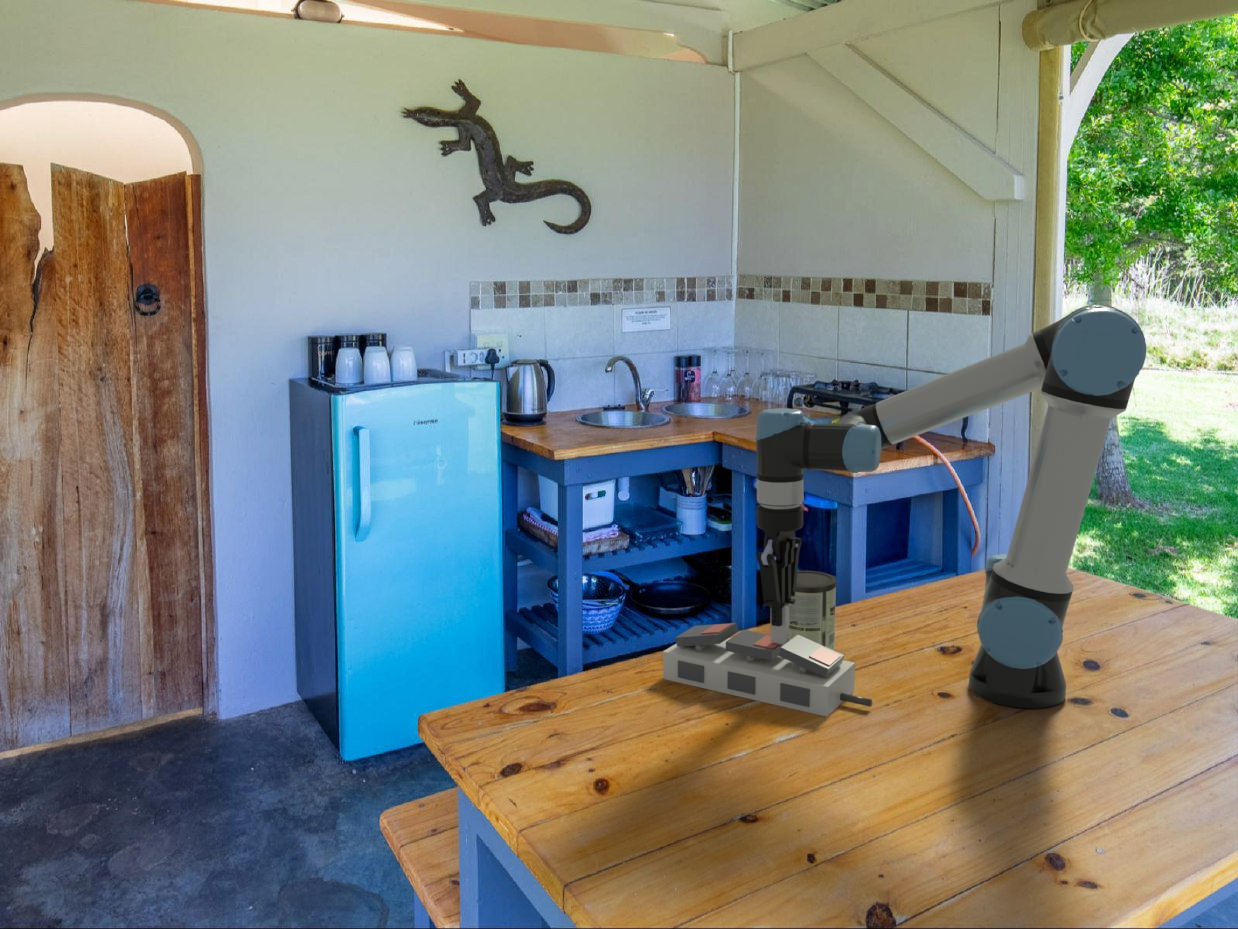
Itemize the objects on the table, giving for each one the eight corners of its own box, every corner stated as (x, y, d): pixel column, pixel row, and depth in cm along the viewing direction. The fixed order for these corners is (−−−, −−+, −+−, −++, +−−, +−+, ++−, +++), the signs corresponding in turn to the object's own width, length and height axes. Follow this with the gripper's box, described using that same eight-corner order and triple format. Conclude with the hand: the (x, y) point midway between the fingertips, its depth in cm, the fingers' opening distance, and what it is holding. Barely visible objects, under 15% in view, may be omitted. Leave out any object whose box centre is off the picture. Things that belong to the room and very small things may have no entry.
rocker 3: (841, 663, 174) (844, 654, 174) (825, 677, 168) (828, 668, 168) (795, 642, 178) (798, 633, 178) (778, 655, 172) (781, 646, 172)
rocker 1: (738, 631, 184) (736, 621, 184) (719, 644, 178) (717, 633, 178) (696, 634, 189) (694, 624, 189) (677, 646, 183) (675, 636, 183)
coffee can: (776, 641, 200) (778, 569, 198) (831, 642, 199) (833, 570, 197) (779, 661, 190) (780, 586, 188) (837, 662, 189) (839, 587, 187)
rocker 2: (789, 647, 179) (789, 637, 179) (771, 660, 173) (772, 650, 173) (744, 638, 184) (744, 628, 183) (725, 650, 178) (725, 640, 177)
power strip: (883, 697, 174) (884, 660, 173) (857, 724, 164) (858, 685, 163) (696, 657, 193) (696, 624, 191) (662, 679, 182) (662, 644, 181)
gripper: (775, 494, 179) (775, 627, 183) (741, 509, 168) (742, 650, 172) (816, 498, 175) (815, 634, 179) (784, 514, 164) (784, 658, 168)
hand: (779, 642), depth 176 cm, fingers closed
